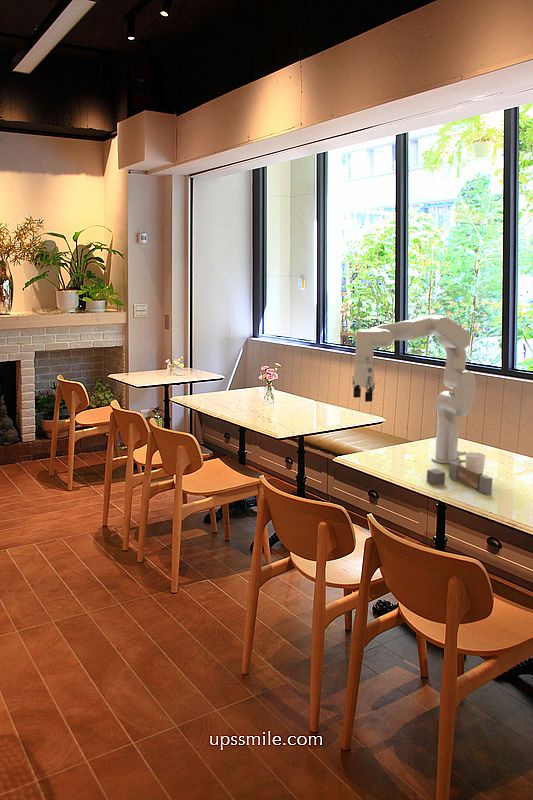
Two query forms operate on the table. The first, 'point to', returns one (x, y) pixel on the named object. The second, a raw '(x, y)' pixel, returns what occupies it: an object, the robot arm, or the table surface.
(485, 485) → the hinge jamb
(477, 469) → the white cup
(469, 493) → the table surface
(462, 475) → the door
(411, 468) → the table surface
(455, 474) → the block
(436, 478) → the grey rectangular block
